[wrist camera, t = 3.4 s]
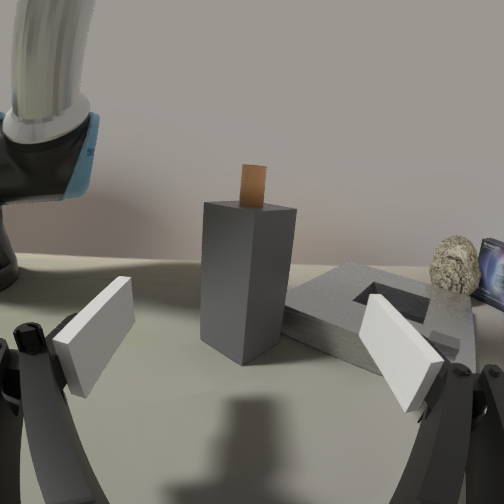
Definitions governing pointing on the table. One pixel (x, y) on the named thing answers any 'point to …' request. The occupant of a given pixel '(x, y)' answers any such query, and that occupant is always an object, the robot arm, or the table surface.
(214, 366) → the table surface
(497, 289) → the small box
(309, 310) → the socket
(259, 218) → the plug
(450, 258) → the stone
